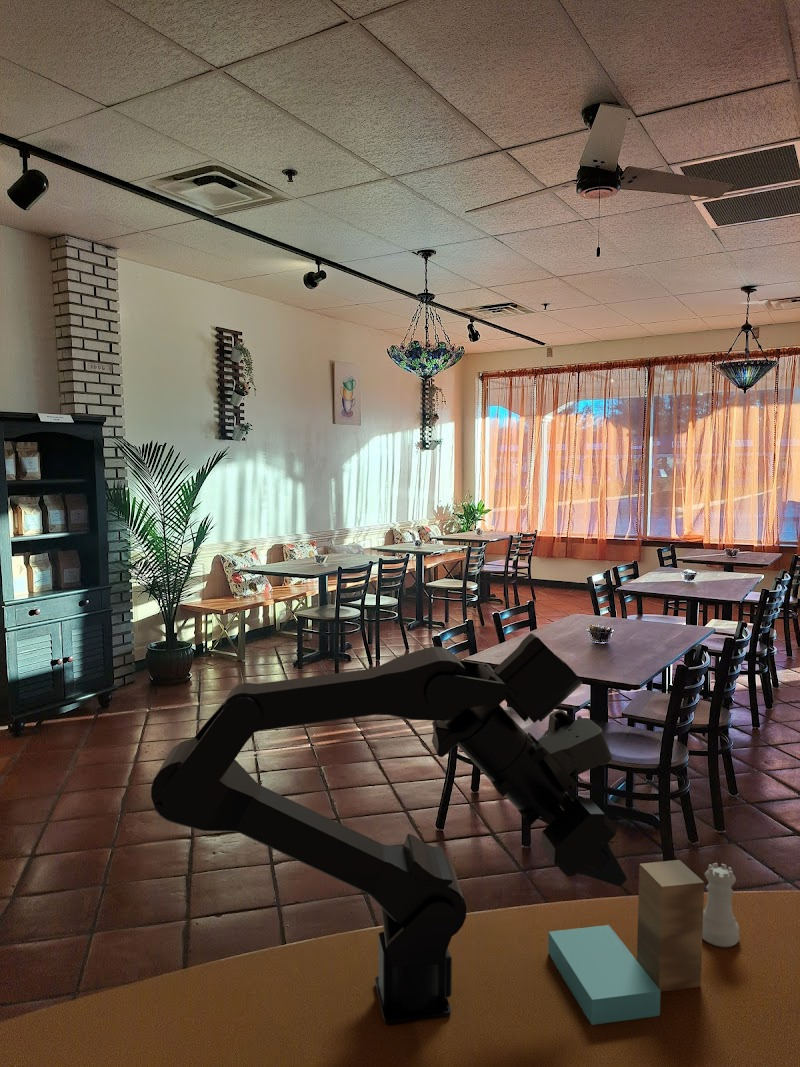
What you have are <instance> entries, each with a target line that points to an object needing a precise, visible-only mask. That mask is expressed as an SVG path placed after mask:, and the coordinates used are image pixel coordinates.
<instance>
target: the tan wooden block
mask: <svg viewBox="0 0 800 1067" xmlns="http://www.w3.org/2000/svg"><path fill="white" fill-rule="evenodd" d="M638 872H639V874H638V875H639V876H638V904H637V905H638V908H637V910H638V911H637V912H638V913H637V946H636V947H637V948H636V949H637V950H636V960H637V961H638V963H639V964H640V965H641V967H642V968H643V969H644V970H645V972H646V973H647V974H648V975H649V977H650V978H651V979H652V981H653V982H654V983H655V984H656V986H657V987H658V988H659V990H660V991H661V993H662V992H668V991H669V992H670V991H677V990H685V989H693V988H699V987H700V988H701V986H702V961H703V960H702V958H703V956H702V954H703V938H702V933H703V910H704V903H705V902H704V900H705V899H704V898H705V882H704V881H703V880H702V879H701V878H700V877H699V876H698V875H697V874H696V873H695V872H693V871H692V870H691V868H689V867H688V866H687V865H686V864H685V863H684V862H682V860H680V859H675V860H674V859H673V860H666V861H665V860H664V861H653V862H646V863H645V862H644V863H639V870H638Z"/></svg>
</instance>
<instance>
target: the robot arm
mask: <svg viewBox="0 0 800 1067" xmlns="http://www.w3.org/2000/svg"><path fill="white" fill-rule="evenodd" d="M582 684H583V681H582V680H581V678H580V677H579V676H578V675H577V674H576V672H574V670H573V669H572V668H571V667H570V666H569V665H568V663H566V662H565V661H564V660H563V659H561V657H559V656H558V655H556V654H555V653H554V652H553V651H552V650H551V649H550V648H549V647H548V646H547V645H546V644H545V643H544V642H543V641H542V640H541V639H540V637H538V636H537V635H536V634H534V633H533V632H532V633H529V634H528V635H527V636H526V637H524V639H522V641H521V642H520V644H518V647H516V648H515V650H513V652H512V653H510V654H509V655H508V656H507V657H506V658H505V659H504V660H503V661H502V662H500V663H499V664H498V665H497V666H496V667H495V668H494V669H493V668H492V666H490V664H488V663H483V662H476V661H471V660H465V659H459V658H458V656H457V655H456V654H454V653H453V652H452V651H450V650H449V649H447V648H446V647H445V648H444V647H441V646H429V647H425V648H422V649H420V650H415V651H412V652H410V653H406V654H403V655H399V656H397V657H395V658H394V659H391V660H390V661H387V662H384V663H382V664H380V665H378V666H375V667H371V668H368V669H359V670H352V671H351V670H350V671H344V672H335V673H327V674H322V675H313V676H306V677H305V676H304V677H299V678H290V679H283V680H276V681H269V682H261V683H252V682H243V683H240V684H237V685H236V686H235V687H233V688H232V689H231V690H230V691H229V693H228V694H227V696H226V698H225V700H224V702H222V704H221V705H220V707H218V709H217V710H215V712H214V713H213V714H212V715H211V716H210V717H209V718H208V720H207V721H206V722H204V724H203V726H202V727H201V728H200V730H199V731H198V732H197V734H196V735H195V736H194V737H192V738H190V739H187V740H186V739H185V740H184V741H180V742H179V743H177V744H176V745H175V746H173V747H172V748H171V750H170V752H169V753H168V754H167V756H166V757H165V759H164V761H163V763H162V764H161V766H160V768H159V769H158V771H157V773H156V775H155V777H154V778H153V781H152V783H151V787H150V788H151V791H150V798H151V800H152V804H153V808H154V810H155V812H156V814H157V815H159V817H161V818H162V819H164V820H165V821H166V822H170V823H171V824H172V823H173V824H176V825H179V826H183V827H186V828H190V829H194V830H197V831H202V832H233V833H238V834H241V835H243V836H245V837H247V838H250V839H251V840H253V841H255V842H258V843H259V844H262V845H264V846H266V847H268V848H270V849H273V850H275V851H276V852H279V853H280V854H283V855H285V856H288V857H289V858H291V859H294V860H296V861H297V862H300V863H302V864H304V865H306V866H308V867H310V868H312V869H315V870H317V871H319V872H321V873H322V874H325V875H328V876H329V877H332V878H333V879H336V880H338V881H340V882H342V883H343V884H346V885H348V886H351V887H353V888H354V889H356V890H359V891H361V892H363V893H365V894H367V895H369V896H370V897H371V898H372V899H373V900H374V901H375V902H376V903H377V904H378V905H379V906H380V910H381V919H382V927H383V931H381V932H379V933H378V976H376V977H375V979H374V981H375V982H374V983H375V987H376V993H377V997H378V1001H379V1005H380V1008H381V1013H382V1014H381V1016H382V1019H383V1021H384V1022H383V1023H385V1024H387V1025H394V1024H400V1023H409V1022H417V1021H418V1022H419V1021H426V1020H432V1019H441V1018H448V1017H450V1016H451V1014H452V1013H451V1012H452V1008H451V1005H450V1002H449V1000H448V999H449V998H451V996H452V985H453V984H452V983H453V982H452V979H453V977H452V976H453V974H452V973H453V971H452V969H453V968H452V967H453V965H452V964H453V963H452V961H453V958H452V955H451V953H450V950H449V948H448V947H449V945H450V943H451V941H452V940H451V939H452V938H453V936H454V935H456V934H458V933H459V931H460V930H461V928H463V926H464V924H465V921H466V918H467V905H466V901H465V898H464V896H463V893H462V888H461V886H460V882H459V880H458V876H457V873H456V871H455V868H454V866H453V863H452V861H450V859H449V858H448V857H446V856H445V853H444V850H443V848H442V846H433V845H430V844H427V843H425V842H424V841H422V840H421V839H419V838H418V837H417V836H415V835H413V834H411V833H408V834H407V835H406V838H405V841H404V844H403V845H387V844H384V843H380V842H379V841H377V840H375V839H373V838H370V837H369V836H366V835H364V834H362V833H360V832H358V831H356V830H354V829H352V828H351V827H347V826H345V825H343V824H341V823H340V822H337V821H336V820H333V819H331V818H329V817H327V816H325V815H323V814H321V813H319V812H317V811H315V810H312V809H311V808H308V807H307V806H304V805H303V804H300V803H298V802H296V801H294V800H292V799H291V798H288V797H286V796H283V795H281V794H279V793H278V792H275V791H273V790H272V789H270V788H267V787H266V786H263V785H261V784H260V783H258V782H257V781H256V780H255V779H254V778H253V777H252V776H251V775H250V773H248V771H246V769H245V768H244V767H243V766H242V765H241V764H240V763H239V761H237V760H236V758H237V757H238V755H239V754H240V752H241V751H242V749H243V748H244V747H245V745H246V743H248V741H249V739H251V737H252V736H253V735H254V734H255V733H257V732H259V731H260V732H261V731H268V730H274V729H275V730H276V729H283V728H291V727H296V726H303V725H304V726H305V725H311V724H317V723H319V724H320V723H325V722H333V721H340V720H347V719H356V718H362V717H363V718H364V717H369V716H389V717H390V716H391V717H394V718H401V719H404V720H405V719H406V720H411V721H432V723H431V725H432V728H433V730H432V731H433V733H432V738H431V743H432V746H433V748H434V751H435V752H436V755H437V756H438V757H439V758H443V757H445V756H446V755H447V754H448V753H449V752H451V750H453V749H454V748H455V746H457V748H459V749H460V750H461V751H462V752H463V753H464V754H465V755H466V756H467V758H468V759H470V761H471V762H472V763H473V764H474V765H475V766H476V767H477V768H478V769H479V770H480V771H481V772H482V773H483V774H484V776H485V777H486V778H487V779H488V780H489V782H491V784H492V786H493V787H494V789H495V790H496V791H497V792H498V793H499V794H500V795H501V796H502V797H505V798H506V799H507V800H508V801H509V802H510V803H511V804H512V806H514V807H515V808H516V810H517V811H518V812H519V813H520V815H521V817H522V818H523V820H525V822H526V823H527V824H528V825H529V826H532V825H533V824H534V823H535V822H536V821H537V820H539V821H541V822H543V823H544V824H547V826H546V827H545V828H544V829H543V830H542V832H541V833H542V834H541V846H542V848H543V849H544V851H545V852H546V853H547V855H548V856H549V858H550V859H551V860H552V862H553V864H554V865H555V866H557V868H558V869H560V871H561V872H562V873H563V875H564V876H566V877H567V878H568V877H574V876H575V875H579V876H585V877H588V878H591V879H594V880H598V881H600V882H603V883H606V884H610V885H613V886H616V887H622V886H623V884H625V882H627V880H628V877H627V875H626V874H625V872H624V869H623V868H622V866H621V864H620V863H619V861H618V858H616V855H615V853H614V852H613V850H612V848H611V846H610V843H609V842H610V841H611V840H612V839H613V838H614V837H615V836H616V835H617V831H618V826H616V824H614V823H613V821H612V820H611V819H610V818H609V817H608V816H607V814H606V813H605V812H604V811H603V810H602V809H600V807H599V806H598V805H597V804H596V803H595V802H594V801H593V799H591V798H590V797H585V798H584V797H583V798H582V797H580V798H579V797H576V798H575V799H574V800H573V799H572V798H571V797H570V796H569V794H568V793H570V792H571V791H572V790H573V789H574V788H575V787H576V786H577V785H578V783H577V782H576V781H575V780H574V779H573V777H574V776H575V777H576V776H579V775H581V774H583V773H585V772H588V771H590V770H592V769H594V768H596V767H598V766H604V765H607V764H609V763H610V762H611V761H612V760H613V755H612V754H611V751H610V748H609V745H608V743H607V740H606V737H605V735H604V732H603V730H602V727H600V726H599V725H598V724H597V723H595V722H594V721H592V720H591V719H590V718H588V717H582V716H581V715H577V716H576V720H575V719H574V718H572V717H571V716H570V715H569V714H568V713H567V712H566V711H564V710H563V709H558V710H555V709H557V707H558V706H560V705H561V704H562V703H563V702H565V700H566V699H568V697H570V696H571V695H572V694H573V693H574V692H575V691H576V690H577V689H578V688H579V687H580V686H582ZM503 702H506V703H507V704H508V705H509V707H511V709H512V710H513V711H514V713H516V714H517V715H518V716H519V718H521V720H523V721H524V722H527V721H528V720H529V719H530V721H532V722H533V723H534V724H535V723H537V721H539V722H540V723H541V722H543V721H544V720H545V719H546V718H547V717H548V716H549V718H548V728H547V730H546V731H544V733H545V736H542V737H541V738H539V739H536V738H535V736H533V734H531V732H527V733H526V731H525V730H524V729H523V728H522V727H521V726H520V725H519V724H518V723H517V722H516V721H515V720H514V718H513V717H512V716H511V715H510V714H509V713H508V712H507V711H506V710H505V709H504V708H503V707H502V706H501V704H502V703H503ZM553 711H554V712H553Z"/></svg>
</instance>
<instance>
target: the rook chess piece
mask: <svg viewBox="0 0 800 1067" xmlns="http://www.w3.org/2000/svg"><path fill="white" fill-rule="evenodd" d="M707 868H708V869H706V871H705V872H704V878H706V880H707V881H708V884H707V885H706V886H705V888H706V891H707V898H706V904H705V908H703V933H702V941H703V940H704V941H705V942H707V943H708V944H710V945H713V946H714V947H719V948H732V947H734V946H735V945H737V943H738V942H739V941H740V940H741V938H740V934H739V932H740V927H739V923H738V922H737V921H736V917H735V916H734V914H733V904H732V896H733V894H734V890H733V889H732V887H733V885H735V883H736V882H737V878H736V876H735V875H734V873H733V868H732V867H731V866H729V867H727V865H726V864H724V863H721V866H720V867H719V864H718V863H717V862H715V863H712V864H710V863H709V864H708V867H707Z"/></svg>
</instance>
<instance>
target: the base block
mask: <svg viewBox="0 0 800 1067" xmlns="http://www.w3.org/2000/svg"><path fill="white" fill-rule="evenodd" d="M547 942H548V945H547V946H548V949H547V950H548V952H547V954H548V953H549V954H550V956H551V958H552V959H551V958H550V959H551V961H552V960H553V961H554V962H553V961H552V962H553V964H554V963H555V964H554V966H555V965H556V966H555V967H556V969H557V970H559V971H558V972H559V974H560V973H561V974H560V976H561V975H562V976H561V977H562V979H563V981H564V982H565V984H566V985H567V987H568V989H569V991H570V992H571V993H572V995H573V998H574V999H575V1000H576V1002H577V1003H578V1005H579V1007H580V1008H581V1010H582V1012H583V1013H584V1016H586V1018H587V1020H588V1021H589V1023H590V1025H591V1026H595V1025H602V1024H607V1023H608V1024H609V1023H610V1024H611V1023H617V1022H623V1021H630V1020H631V1021H632V1020H639V1019H645V1018H653V1017H660V1016H661V993H662V992H661V991H660V990H659V988H658V987H657V986H656V984H655V983H654V982H653V981H652V979H651V978H650V977H649V975H648V974H647V973H646V972H645V970H644V969H643V968H642V967H641V965H640V964H639V963H638V961H637V958H635V956H634V955H633V954H632V953H631V951H630V950H629V949H628V947H627V946H626V945H625V943H624V942H623V941H622V940H621V938H620V937H619V936H618V934H617V933H616V932H615V930H613V928H612V927H611V926H610V924H605V925H598V926H588V927H579V928H571V929H570V928H568V929H562V930H561V929H560V930H552V931H548V941H547ZM549 954H548V955H549ZM550 956H549V957H550Z"/></svg>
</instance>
